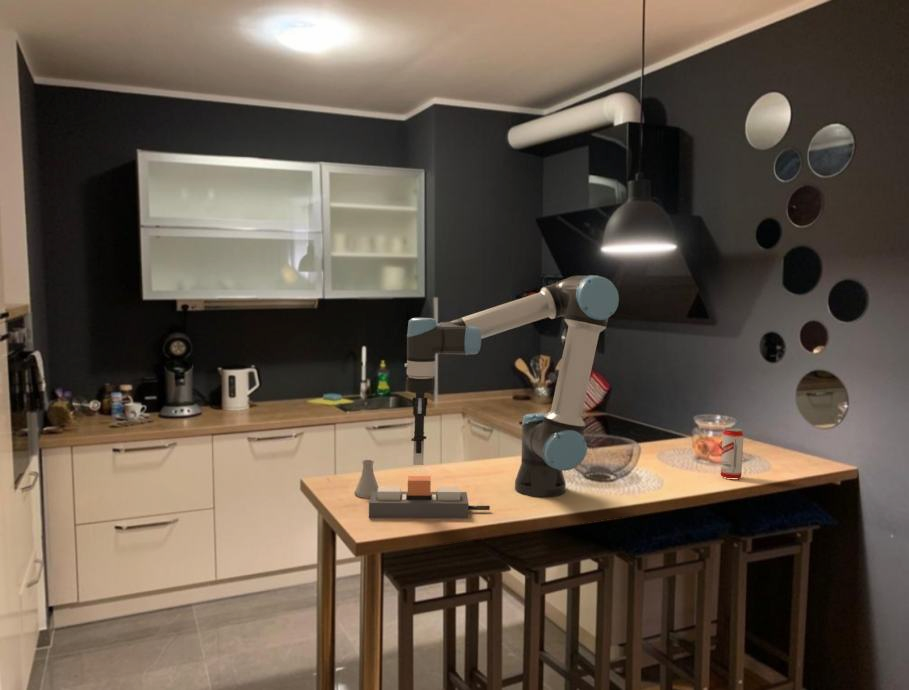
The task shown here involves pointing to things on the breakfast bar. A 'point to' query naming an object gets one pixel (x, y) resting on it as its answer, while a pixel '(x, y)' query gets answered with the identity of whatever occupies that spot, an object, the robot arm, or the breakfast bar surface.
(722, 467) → the beer can
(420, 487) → the switch
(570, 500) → the breakfast bar surface
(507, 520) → the breakfast bar surface
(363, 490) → the flask
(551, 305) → the robot arm
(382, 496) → the switch
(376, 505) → the power strip
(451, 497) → the switch
